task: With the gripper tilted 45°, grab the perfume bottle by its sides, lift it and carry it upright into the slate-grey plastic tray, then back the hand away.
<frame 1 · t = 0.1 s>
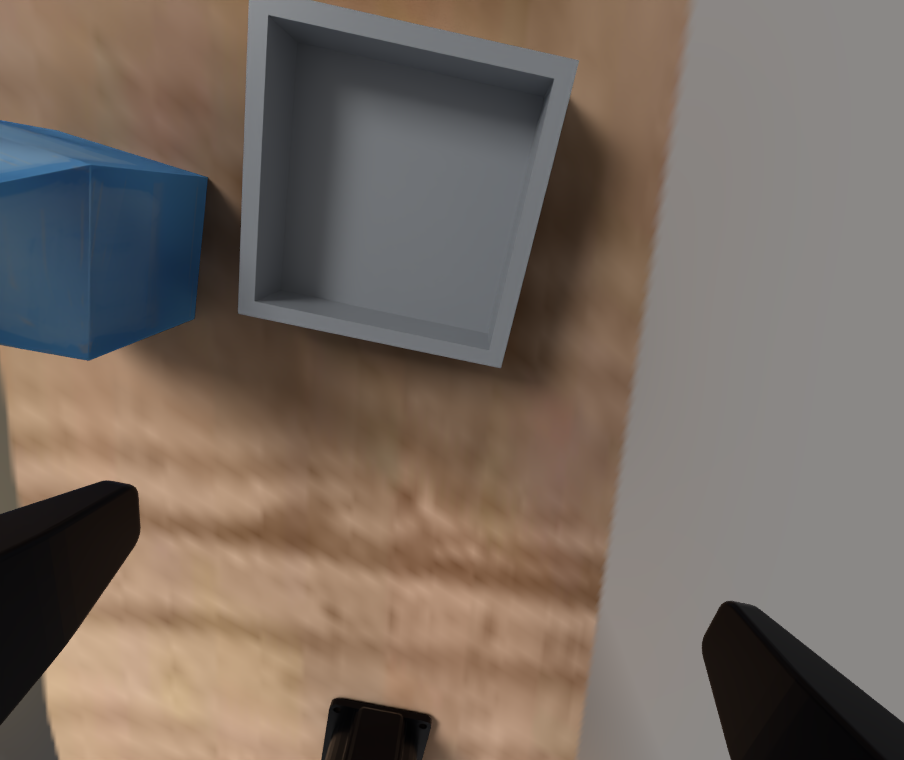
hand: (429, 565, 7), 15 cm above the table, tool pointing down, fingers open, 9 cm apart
perfume bottle: (133, 230, 20), on the table
tray: (404, 201, 19), on the table
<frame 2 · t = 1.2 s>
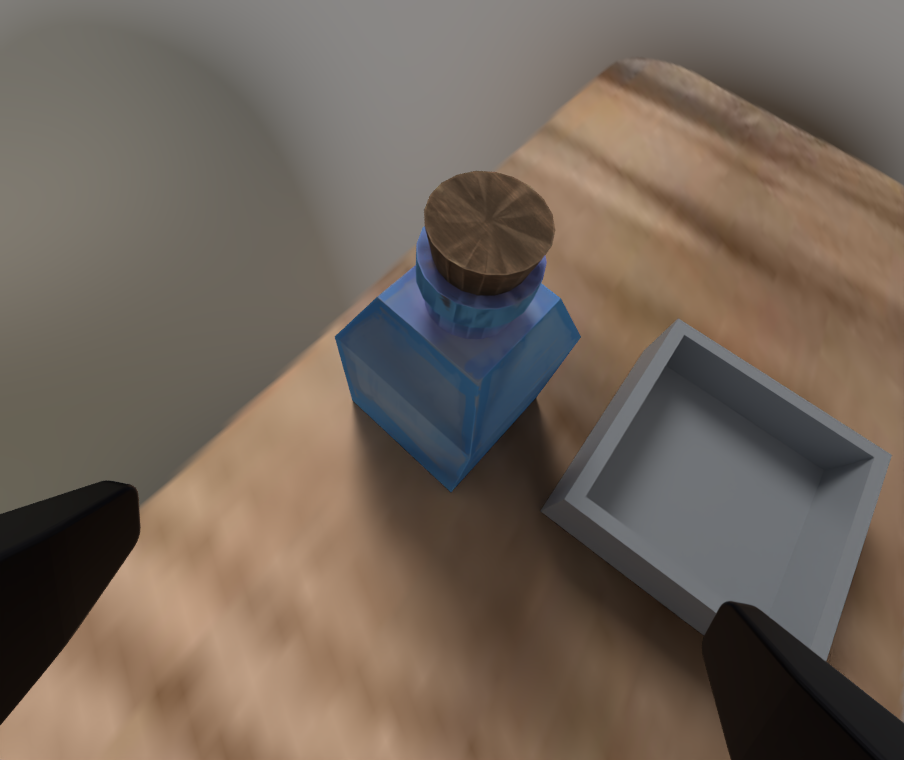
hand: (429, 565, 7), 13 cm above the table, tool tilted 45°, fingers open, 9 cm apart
perfume bottle: (445, 400, 22), on the table
tray: (690, 490, 21), on the table
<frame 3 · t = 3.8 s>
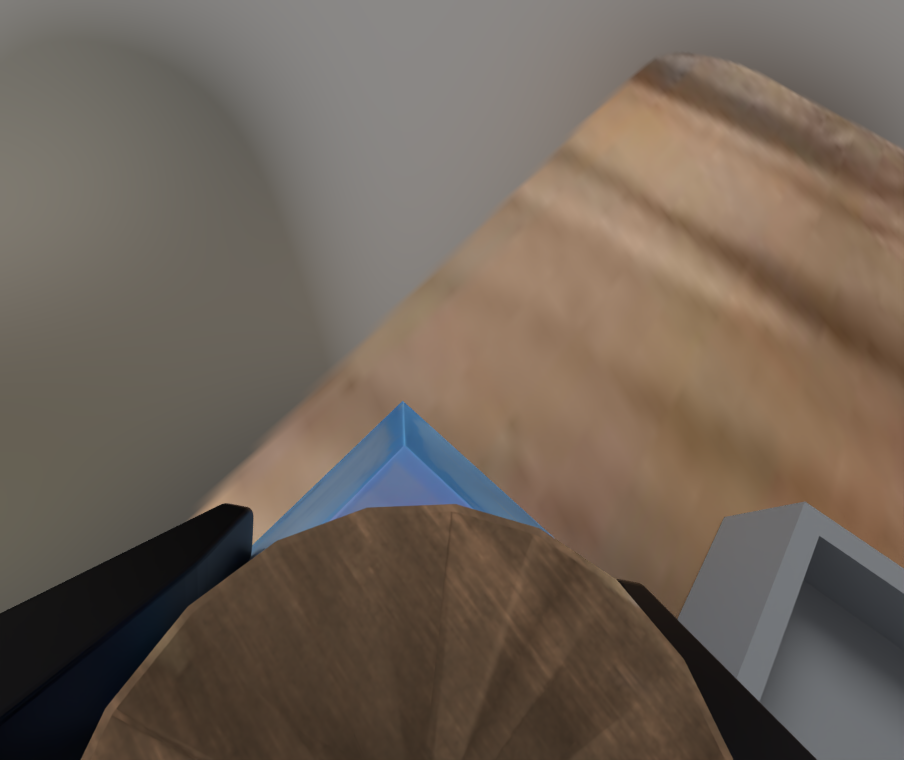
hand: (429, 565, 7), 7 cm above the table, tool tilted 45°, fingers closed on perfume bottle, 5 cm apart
perfume bottle: (404, 624, 13), on the table, touching gripper
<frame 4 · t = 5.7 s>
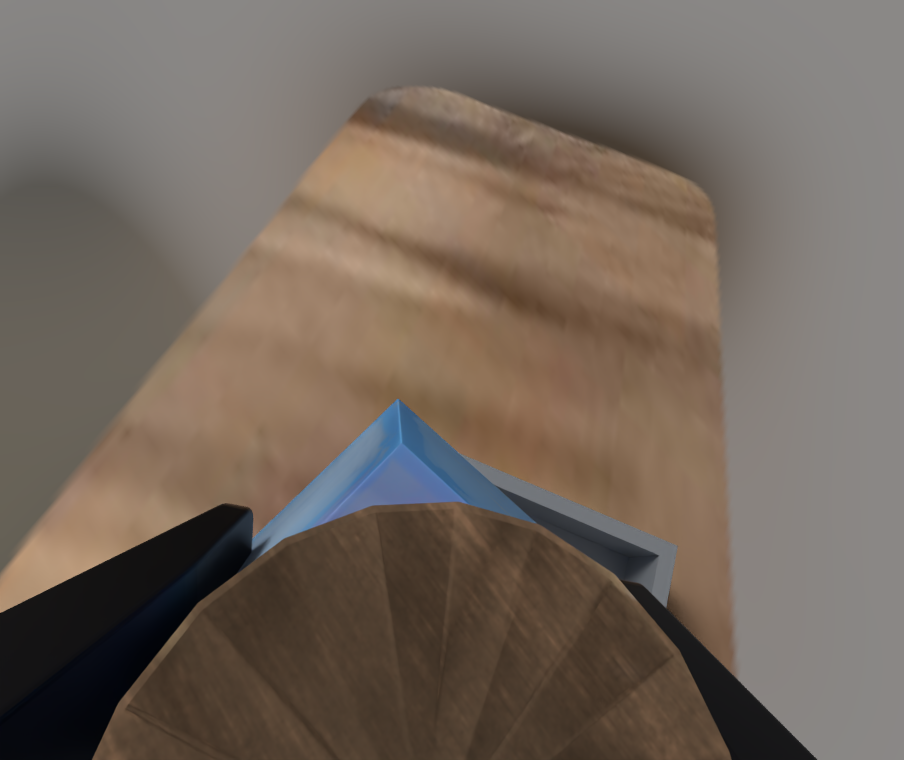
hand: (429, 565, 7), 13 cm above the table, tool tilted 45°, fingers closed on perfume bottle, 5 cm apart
perfume bottle: (398, 620, 13), point 6 cm above the table, touching gripper
tray: (489, 623, 19), on the table
when the fingers open (9 cm above the table, at t = 7.5 s): perfume bottle stays where it is, resting on tray.
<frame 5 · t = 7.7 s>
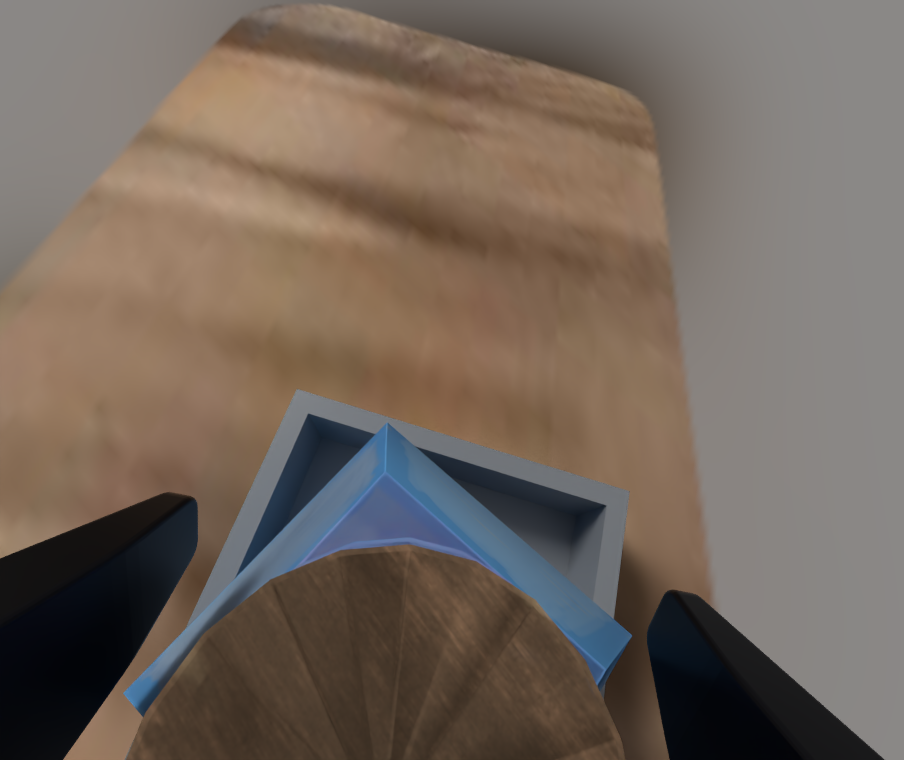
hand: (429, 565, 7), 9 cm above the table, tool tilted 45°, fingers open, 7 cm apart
perfume bottle: (397, 626, 14), point 1 cm above the table, touching tray
tray: (406, 618, 15), on the table
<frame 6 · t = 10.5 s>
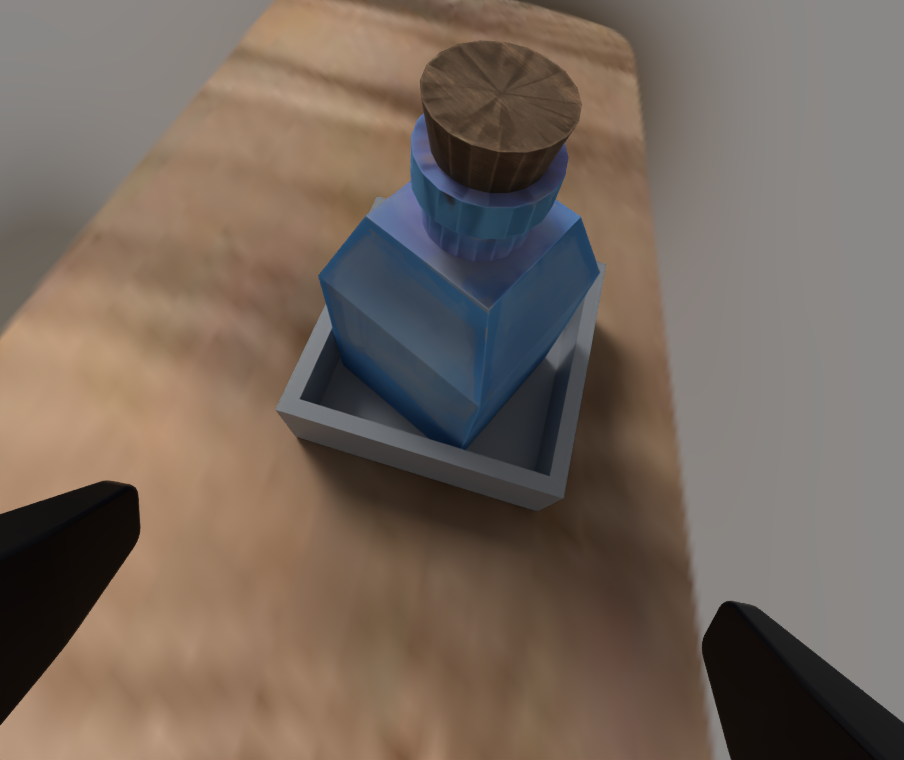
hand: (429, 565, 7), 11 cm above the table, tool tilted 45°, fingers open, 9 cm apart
perfume bottle: (446, 362, 20), point 1 cm above the table, touching tray
tray: (450, 365, 21), on the table
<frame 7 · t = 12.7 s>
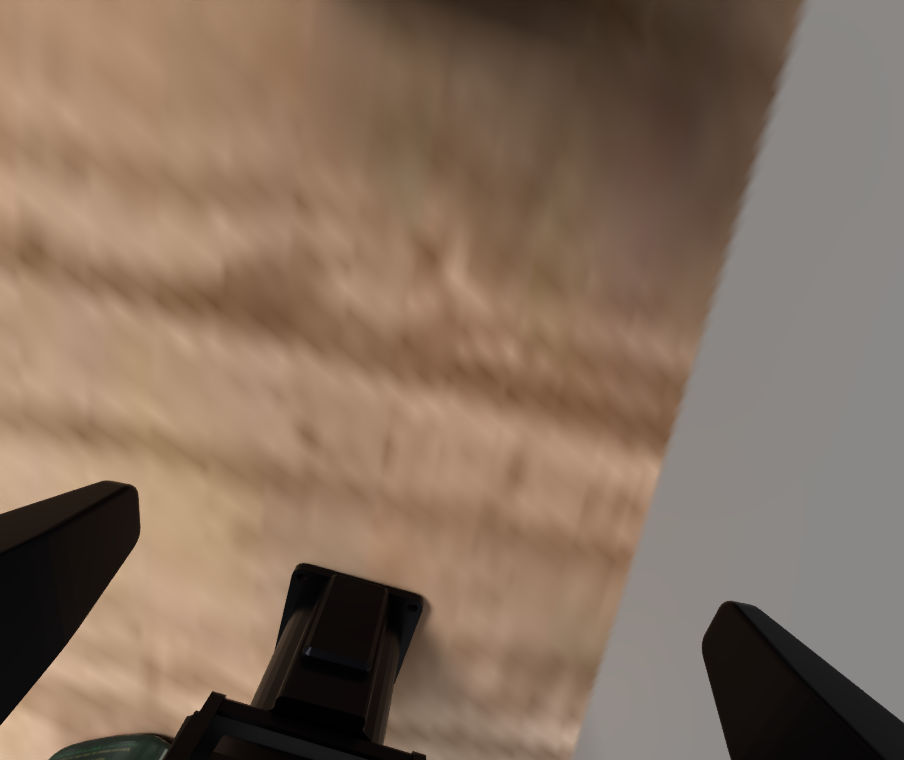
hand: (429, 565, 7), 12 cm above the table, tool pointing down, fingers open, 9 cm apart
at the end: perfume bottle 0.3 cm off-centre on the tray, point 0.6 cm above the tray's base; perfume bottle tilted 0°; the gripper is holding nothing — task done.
